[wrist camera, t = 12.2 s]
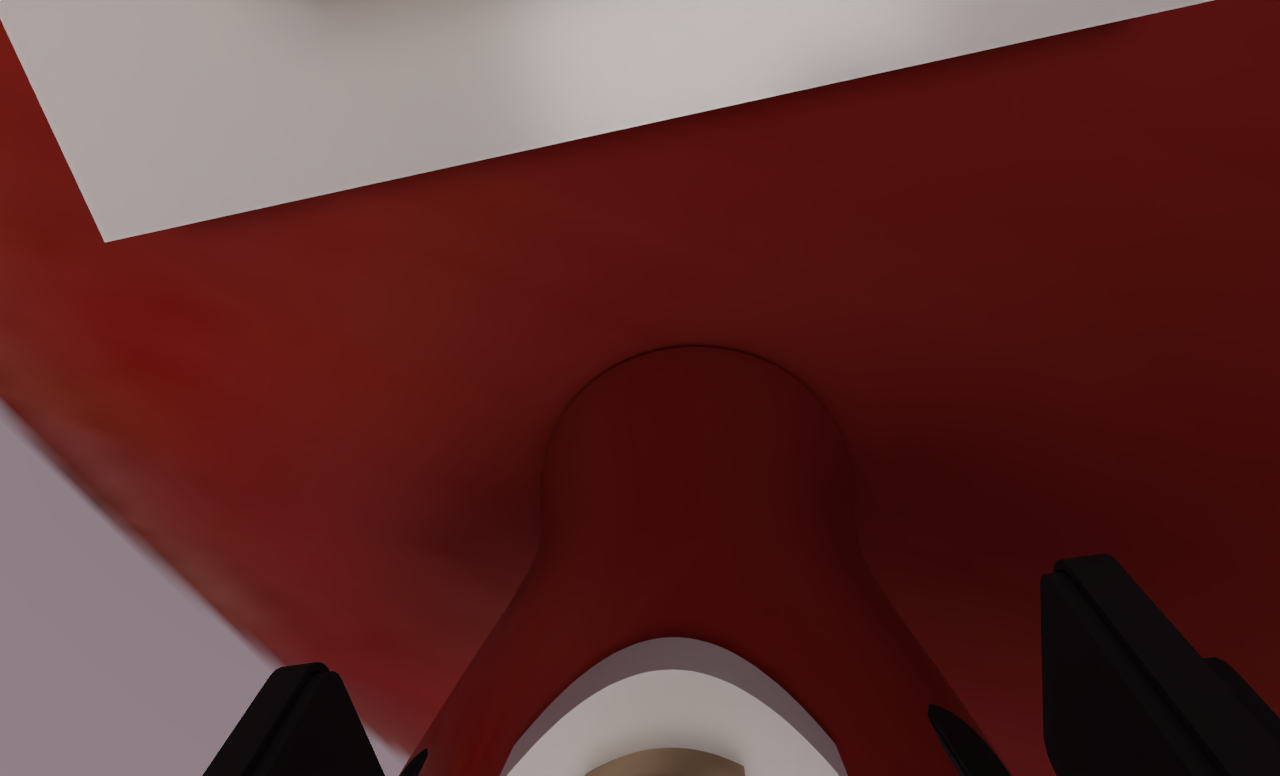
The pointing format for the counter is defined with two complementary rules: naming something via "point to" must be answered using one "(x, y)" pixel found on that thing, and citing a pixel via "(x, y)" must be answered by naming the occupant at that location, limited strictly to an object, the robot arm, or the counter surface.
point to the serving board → (437, 80)
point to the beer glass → (700, 601)
